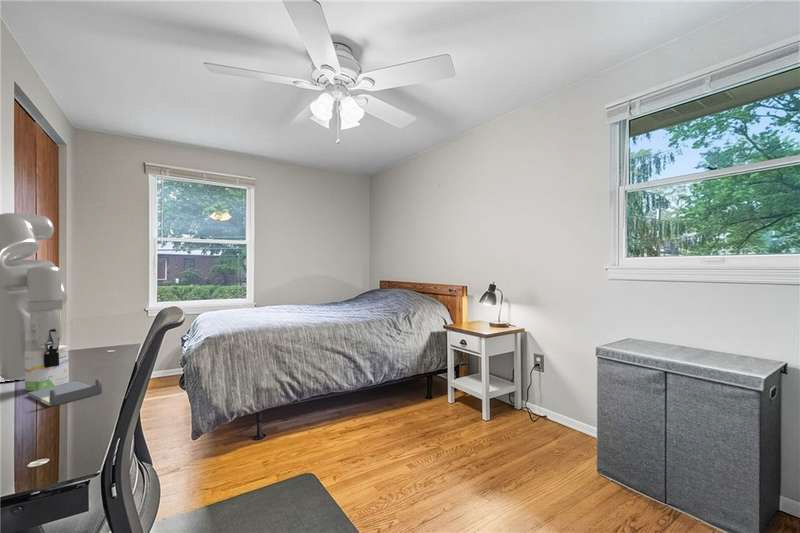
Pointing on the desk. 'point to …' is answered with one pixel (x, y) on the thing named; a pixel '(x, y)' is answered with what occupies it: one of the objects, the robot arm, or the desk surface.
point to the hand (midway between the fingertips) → (47, 364)
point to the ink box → (42, 376)
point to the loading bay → (66, 392)
